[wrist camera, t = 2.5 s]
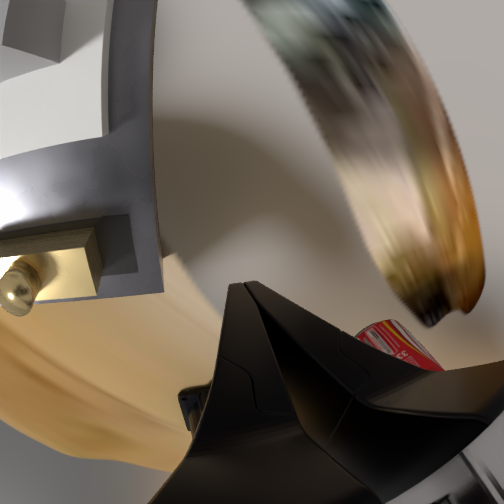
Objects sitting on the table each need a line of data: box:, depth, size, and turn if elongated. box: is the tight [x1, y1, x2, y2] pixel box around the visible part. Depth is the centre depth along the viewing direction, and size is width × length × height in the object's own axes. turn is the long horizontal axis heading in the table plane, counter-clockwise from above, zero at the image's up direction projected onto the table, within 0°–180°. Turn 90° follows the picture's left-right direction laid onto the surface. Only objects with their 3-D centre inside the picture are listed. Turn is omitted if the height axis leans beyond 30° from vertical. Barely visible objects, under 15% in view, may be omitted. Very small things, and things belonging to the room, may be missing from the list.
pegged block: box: [0, 227, 103, 316], centre depth 9 cm, size 2×6×3 cm, turn 88°
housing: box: [0, 0, 164, 306], centre depth 9 cm, size 16×11×3 cm
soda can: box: [355, 319, 445, 371], centre depth 20 cm, size 7×7×12 cm
